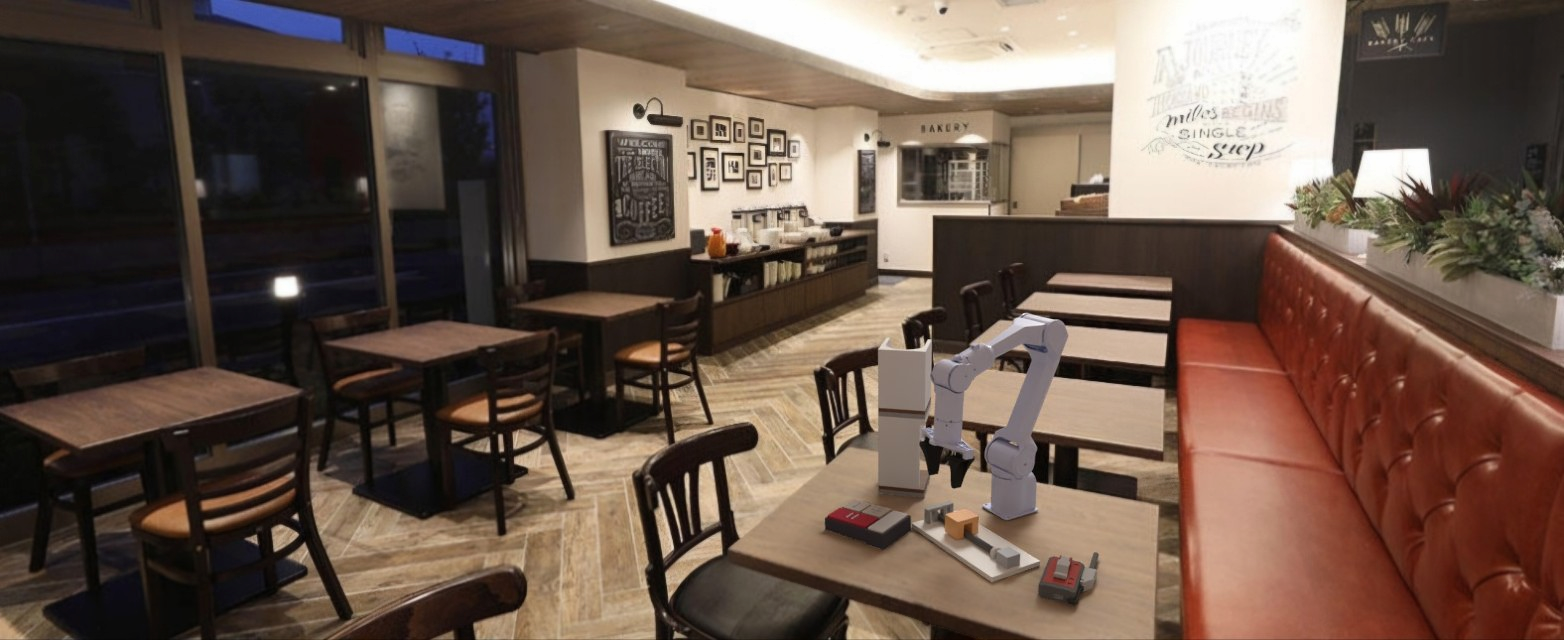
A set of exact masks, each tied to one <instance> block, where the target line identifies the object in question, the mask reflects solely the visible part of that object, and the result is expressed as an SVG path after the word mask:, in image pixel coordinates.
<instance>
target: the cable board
mask: <svg viewBox="0 0 1564 640" xmlns="http://www.w3.org/2000/svg"><path fill="white" fill-rule="evenodd" d="M955 511H958V510H954V502H952V501H950V500H948V501H945V502H941V503H938V504H934V505H930V506H927V507H924V509H923V512H924V513H923V514H924V515H923V518H924V519H920V520H918V521H914V522H911V529H913V530H915V531H916V532H917V533H919V534H921V535H922V536H923V537H925V538H927V539H928V540H930V541H931V542H933V543H934V544H936V546H939V547H940V548H941V549H943V550H944V551H945V552H947V553H949V554H950V555H951V556H952V557H954V558H955V559H957V560H958V561H960V562H961V563H963V564H965V565H966V566H968V567H969V568H970V569H972V570H973V571H975V572H976V573H978V574H979V575H980V576H982V577H983V578H985V579H986V580H988V581H989V582H991V583H994V582H997V581H999V580H1000V581H1001V580H1002V579H1005V578H1008V577H1012V576H1014V575H1017V574H1020V573H1023V572H1026V571H1029V570H1031V568H1032V569H1035V568H1037V566H1038V567H1040V566H1041V560H1040V559H1038V558H1036V557H1034V556H1033V555H1031V554H1029V553H1028V552H1026V551H1025V550H1023V549H1021V548H1019V547H1018V546H1016V545H1014V544H1013V543H1012V542H1009V541H1008V540H1006V539H1005V538H1003V537H1001V536H999V535H998V534H996V533H995V532H994V531H991V530H989V529H988V528H986V527H985V526H983V525H981V524H980V523H978V534H975V535H974V534H972V533H971V532H969V531H967V530H966V529H964V538H962V539H958V540H957V539H955V538H954V537H952V536H951V535H949V534H948V533H946V532H945V514H948V513H952V512H955ZM1034 567H1035V568H1034ZM1028 569H1029V570H1028ZM1025 570H1026V571H1025Z"/></svg>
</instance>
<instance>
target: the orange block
mask: <svg viewBox="0 0 1564 640" xmlns="http://www.w3.org/2000/svg"><path fill="white" fill-rule="evenodd" d="M954 511H955V512H952V513H948V514H945V532H946V533H948V534H949V535H951V536H952V537H954V538H955V539H957V540H958V539H962V538H964V529H966V530H967V531H969V532H971V533H972V534H974V535H975V534H978V524H979V515H978V514H976V513H975V512H973V511H971V510H970V509H967V508H962V509H958V510H957V511H956V510H954Z"/></svg>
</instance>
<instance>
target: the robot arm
mask: <svg viewBox="0 0 1564 640" xmlns="http://www.w3.org/2000/svg"><path fill="white" fill-rule="evenodd" d="M1068 338H1069V333H1068V330H1067V327H1066V325H1065V322H1063V321H1062V320H1060V319H1052V318H1048V317H1045V316H1044V317H1043V316H1041V315H1035V314H1032V313H1030V312H1024V313H1022V314H1021V315H1019V316H1018V317H1015V318H1014V319H1013V321H1012V324H1011V325H1010V326H1009V327H1007V328H1006V329H1004V330H1003V331H1002V332H1000V333H999V334H998V335H996V336H995V337H993V338H992V339H991V340H989V341H988V342H986V343H983V342H973V343H971V344H970V346H969V347H968V348H966V349H964V350H963V351H961V352H959V353H956V354H955V355H953V357H951V359H949V358H947V359H946V358H944V359H941V360H939V361H938V362H936V363H935V365H934V366H933V368H932V370H931V373H930V378H931V383H932V384H933V392H934V393H935V398H934V414H933V415H934V417H933V428H931V427H924V429H922V438H924V441H921V442H919V445H920V450H921V451H922V453H923V454H922V455H924V460H925V464H926V469H927V470H928V474H929V475H930V476H934V475H938V474H939V471H940V468H941V467H940V465H941V458H942V454H943V450H944V448H945V449H948V450H950V451H951V452H953V453H955V454H953V455H947V456H946V459H947V463H948V465H949V470H950V471H949V472H950V486H951V488H952V489H953V490H954V489H959V488H962V485H963V482H964V479H965V477H966V474H967V472H968V470H969V468H970V467H971V466H972V464H973V463H974V462H975V459H976V457H975V456H974V454H975V449H974V448H972V447H971V446H969V445H968V444H967V443H966V442H965V441H964V440H963V439H962V436H963V435H962V433H963V419H964V418H963V417H964V416H963V415H964V401H965V391H967V390H968V389H969V388H970V386H971V384H972V382H973V381H974V380H975V378H976V377H978V376H979V375H981V374H982V373H984V372H986V371H987V370H989V369H990V368H992V367H993V366H994V364H995V361H996V358H998V357H1000V356H1002V355H1003V354H1006V353H1007V352H1010V351H1011V350H1014V349H1015V348H1017V347H1019V346H1021V345H1022V346H1023V348H1024V349H1025V350H1026V351H1027V353H1028V354H1029V356H1030V358H1031V362H1030V365H1029V368H1028V369H1027V372H1026V375H1025V377H1024V381H1023V383H1022V385H1021V388H1020V391H1019V393H1018V396H1017V397H1016V401H1015V404H1014V405H1013V408H1012V411H1011V414H1010V417H1009V419H1008V422H1007V424H1006V426H1004V427H1003V428H1000V429H997V430H996V431H995V432H994V435H993V437H992V438H991V440H990V441H989V442H988V443H987V445H986V446H985V450H984V460H985V461H986V463H988V465H989V470H990V471H991V486H990V488H991V489H990V490H991V491H990V502H987V503H983V504H982V505H981V506H982V508H983V509H985V510H987V511H988V512H991V513H992V514H994V515H995V516H997V517H999V518H1001V519H1002V520H1004V521H1010V520H1014V519H1018V518H1020V517H1024V516H1027V515H1030V514H1033V513H1036V512H1039V508H1038V507H1036V506H1037V505H1036V504H1037V503H1036V502H1037V486H1038V485H1037V484H1038V483H1037V479H1036V476H1035V475H1034V473H1033V472H1032V471H1033V469H1034V466H1035V463H1036V461H1035V460H1036V455H1037V454H1036V453H1037V451H1038V446H1037V445H1036V443H1035V441H1034V439H1033V438H1032V434H1033V431H1034V428H1035V426H1036V423H1037V420H1038V418H1039V415H1040V413H1041V411H1042V407H1043V404H1044V403H1045V399H1046V397H1047V394H1048V392H1049V390H1050V387H1051V383H1052V382H1053V379H1054V376H1055V374H1056V371H1057V368H1058V366H1059V363H1060V360H1061V356H1062V354H1063V351H1064V350H1065V349H1064V348H1065V347H1066V343H1067V341H1068ZM1011 442H1012V443H1011ZM1013 443H1014V444H1013Z"/></svg>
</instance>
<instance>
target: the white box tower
mask: <svg viewBox="0 0 1564 640" xmlns="http://www.w3.org/2000/svg"><path fill="white" fill-rule="evenodd" d="M891 339H892V338H891V337H886V338H885V339H884V341H883V342H882V343H881V345H880V346H879V347H878V349H877V363H878V364H877V373H878V374H877V377H878V378H877V384H878V385H877V386H878V387H877V390H878V391H877V394H878V396H877V398H878V399H877V402H878V404H877V409H878V410H877V416H878V417H877V420H878V421H877V422H878V423H877V425H878V426H877V429H878V430H877V431H878V432H877V433H878V434H877V436H878V437H877V438H878V439H877V440H878V444H877V445H878V446H877V447H878V448H877V449H878V452H877V455H878V458H877V459H878V461H877V463H878V464H877V465H878V466H877V471H878V475H877V476H878V478H877V481H878V482H877V484H878V487H877V488H878V491H877V492H878V493H883V494H882V495H888V494H893V495H892V496H898V495H900V496H899V497H907V496H908V497H909V498H917V497H918V498H920V499H925V496H926V492H927V490H928V487H927V486H929V483H930V479H931V475H929V474H928V470H926V469H921V467H920V465H921V461H920V460H921V459H920V458H921V457H920V456H921V447H920V445H919V442H921V441H924V440H925V439H924V438H922V429H924V428H925V426H926V423H927V420H928V418H929V415H930V412H931V410H932V381H931V378H930V373H932V364H933V363H932V362H933V361H932V360H933V359H932V357H933V356H932V355H933V354H932V353H933V351H932V350H933V347H932V346H933V344H932V343H933V342H932V340H933V339H927V340H926V342H925V344H924V345H923V346H922V347H919V348H913V349H912V348H911V349H903V348H902V349H901V348H893V347H891ZM926 489H927V490H926Z"/></svg>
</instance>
